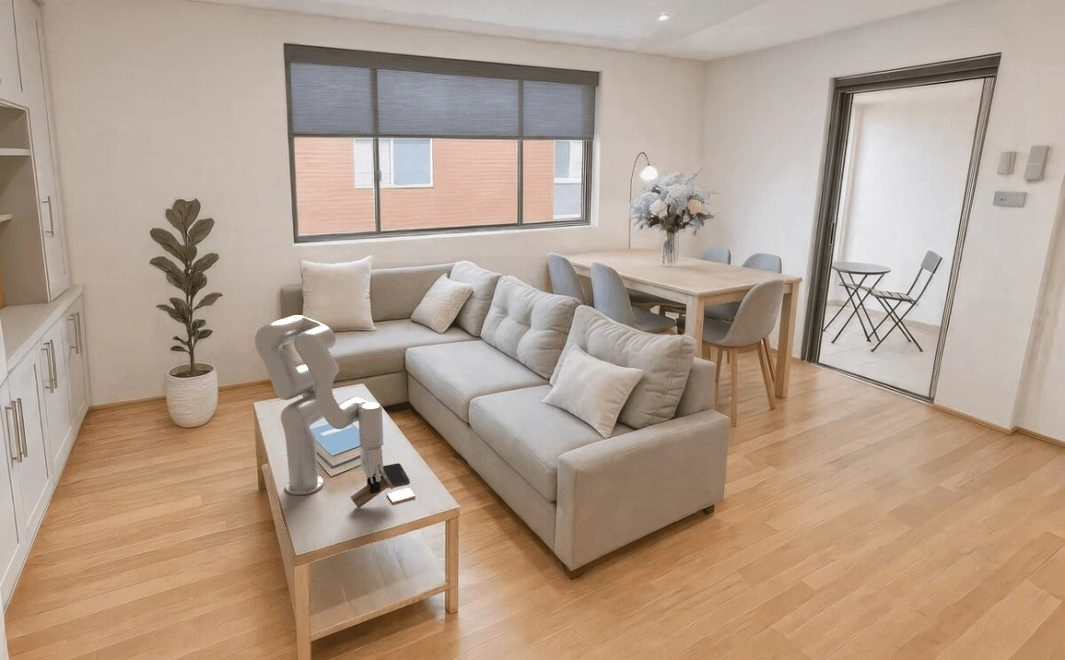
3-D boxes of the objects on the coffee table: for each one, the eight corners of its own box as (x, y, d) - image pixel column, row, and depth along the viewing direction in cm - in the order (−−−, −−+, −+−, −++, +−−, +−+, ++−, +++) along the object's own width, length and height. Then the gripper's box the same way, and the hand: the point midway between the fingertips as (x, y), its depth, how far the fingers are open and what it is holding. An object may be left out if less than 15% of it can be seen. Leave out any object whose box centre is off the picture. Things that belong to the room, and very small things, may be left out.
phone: (388, 485, 220) (379, 466, 233) (388, 488, 221) (379, 469, 234) (410, 481, 224) (400, 462, 237) (410, 484, 224) (400, 465, 237)
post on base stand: (354, 501, 210) (346, 491, 207) (387, 478, 214) (380, 467, 212) (360, 512, 204) (353, 501, 202) (394, 487, 208) (387, 477, 206)
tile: (386, 493, 215) (408, 487, 219) (386, 498, 216) (408, 492, 220) (392, 502, 210) (415, 495, 214) (392, 506, 211) (415, 500, 215)
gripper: (352, 433, 208) (355, 482, 213) (367, 452, 195) (370, 504, 200) (375, 428, 212) (377, 477, 217) (390, 447, 199) (392, 498, 204)
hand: (373, 490), depth 209 cm, fingers closed on post on base stand
